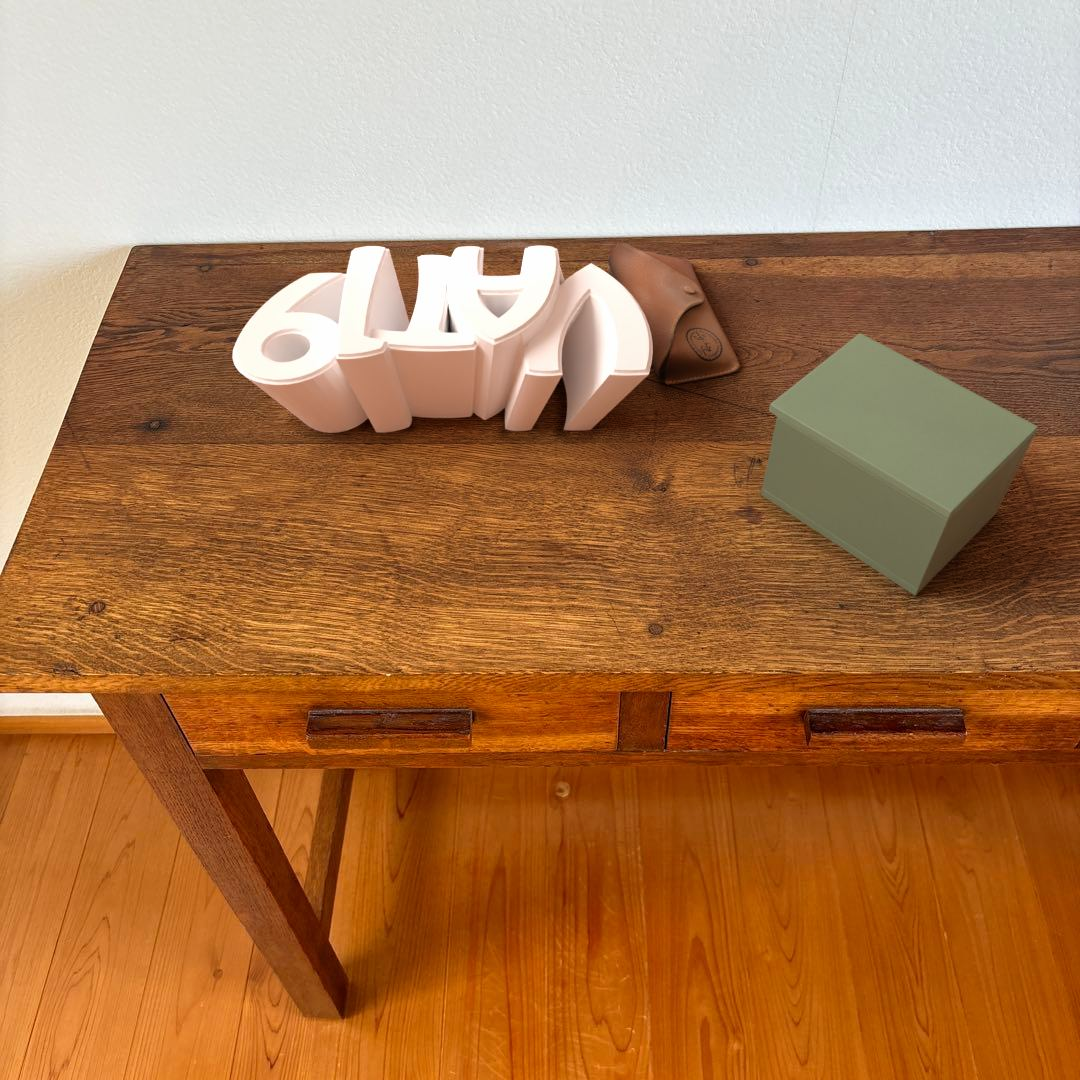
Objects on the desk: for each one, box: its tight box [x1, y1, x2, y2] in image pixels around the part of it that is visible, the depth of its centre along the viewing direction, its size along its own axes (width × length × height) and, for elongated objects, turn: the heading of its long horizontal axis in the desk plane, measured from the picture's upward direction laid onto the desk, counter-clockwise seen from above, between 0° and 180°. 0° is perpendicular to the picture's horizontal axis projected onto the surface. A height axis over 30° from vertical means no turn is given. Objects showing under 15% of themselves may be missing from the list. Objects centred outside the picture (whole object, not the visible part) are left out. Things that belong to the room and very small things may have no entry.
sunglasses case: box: [608, 242, 741, 386], centre depth 96 cm, size 18×7×7 cm
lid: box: [768, 332, 1039, 519], centre depth 75 cm, size 15×12×1 cm
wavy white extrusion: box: [232, 245, 653, 434], centre depth 88 cm, size 35×16×11 cm, turn 86°
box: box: [760, 416, 1035, 596], centre depth 79 cm, size 15×12×9 cm
